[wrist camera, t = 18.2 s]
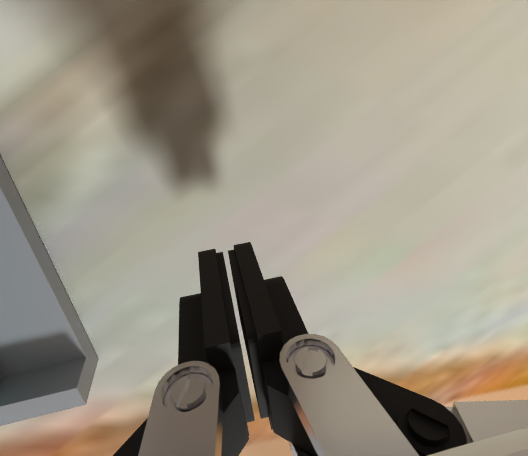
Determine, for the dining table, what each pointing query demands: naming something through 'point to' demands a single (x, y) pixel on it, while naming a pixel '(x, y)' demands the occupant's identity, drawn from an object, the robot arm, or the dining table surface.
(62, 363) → the tray
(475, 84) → the dining table surface
